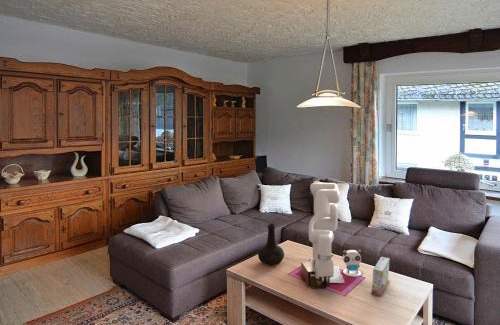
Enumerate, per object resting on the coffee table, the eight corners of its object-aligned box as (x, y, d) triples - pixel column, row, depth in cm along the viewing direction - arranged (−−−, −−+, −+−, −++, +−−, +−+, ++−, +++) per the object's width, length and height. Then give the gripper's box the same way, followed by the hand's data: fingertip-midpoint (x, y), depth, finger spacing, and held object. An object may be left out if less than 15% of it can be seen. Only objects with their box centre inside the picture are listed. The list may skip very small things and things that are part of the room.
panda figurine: (344, 276, 220) (344, 254, 218) (340, 268, 231) (340, 247, 229) (363, 276, 220) (364, 253, 218) (358, 268, 231) (358, 247, 229)
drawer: (332, 290, 202) (332, 277, 201) (313, 292, 200) (313, 279, 199) (321, 276, 220) (321, 264, 219) (304, 277, 218) (304, 266, 217)
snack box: (381, 296, 196) (382, 271, 194) (371, 294, 199) (372, 269, 197) (389, 281, 213) (389, 257, 211) (379, 278, 216) (380, 255, 214)
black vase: (253, 263, 242) (252, 225, 238) (269, 255, 255) (268, 218, 251) (273, 271, 230) (272, 230, 226) (289, 262, 243) (288, 223, 239)
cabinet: (328, 285, 210) (328, 270, 209) (308, 287, 208) (308, 271, 207) (320, 274, 224) (320, 260, 223) (301, 275, 223) (301, 261, 221)
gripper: (334, 252, 201) (334, 282, 204) (309, 254, 199) (309, 285, 202) (339, 258, 194) (339, 289, 196) (313, 260, 192) (313, 291, 194)
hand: (324, 286), depth 199 cm, fingers closed
